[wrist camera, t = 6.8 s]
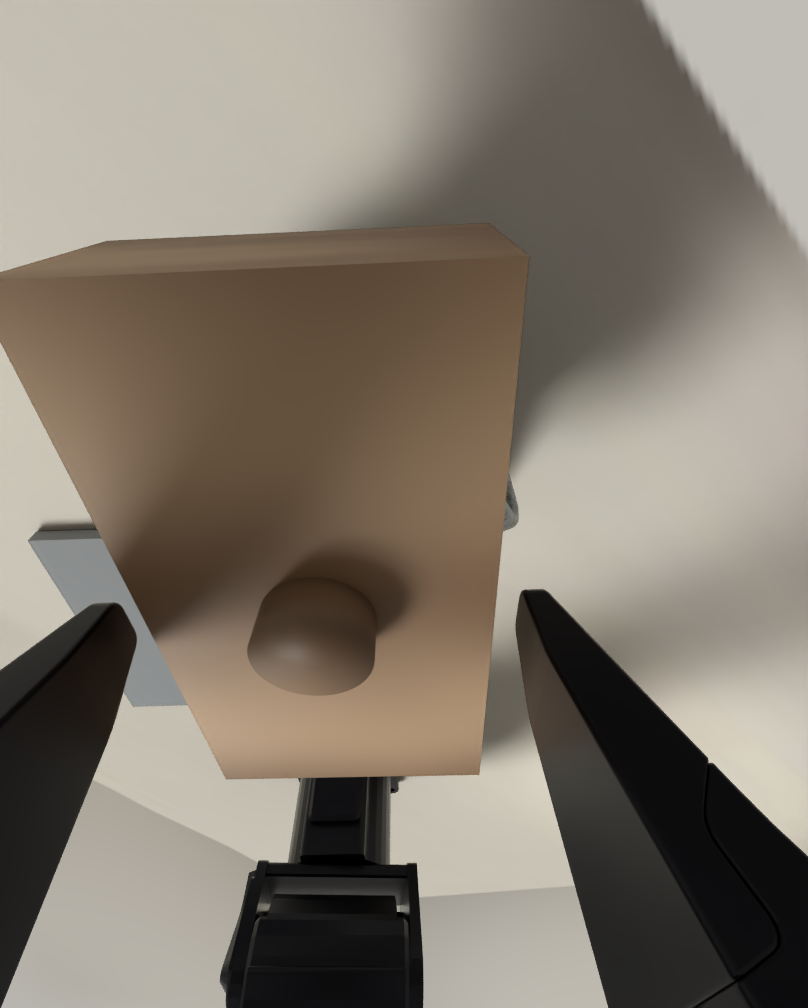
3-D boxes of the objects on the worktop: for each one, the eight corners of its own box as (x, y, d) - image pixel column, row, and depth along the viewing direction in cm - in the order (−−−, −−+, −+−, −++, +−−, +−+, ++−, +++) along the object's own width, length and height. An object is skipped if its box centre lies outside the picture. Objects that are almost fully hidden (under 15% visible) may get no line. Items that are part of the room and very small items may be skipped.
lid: (466, 666, 14) (483, 812, 11) (257, 670, 14) (215, 816, 11) (489, 222, 8) (547, 270, 4) (106, 241, 8) (-93, 298, 5)
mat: (351, 690, 27) (350, 700, 27) (137, 696, 28) (132, 706, 27) (323, 522, 20) (321, 531, 20) (36, 531, 20) (27, 540, 20)
